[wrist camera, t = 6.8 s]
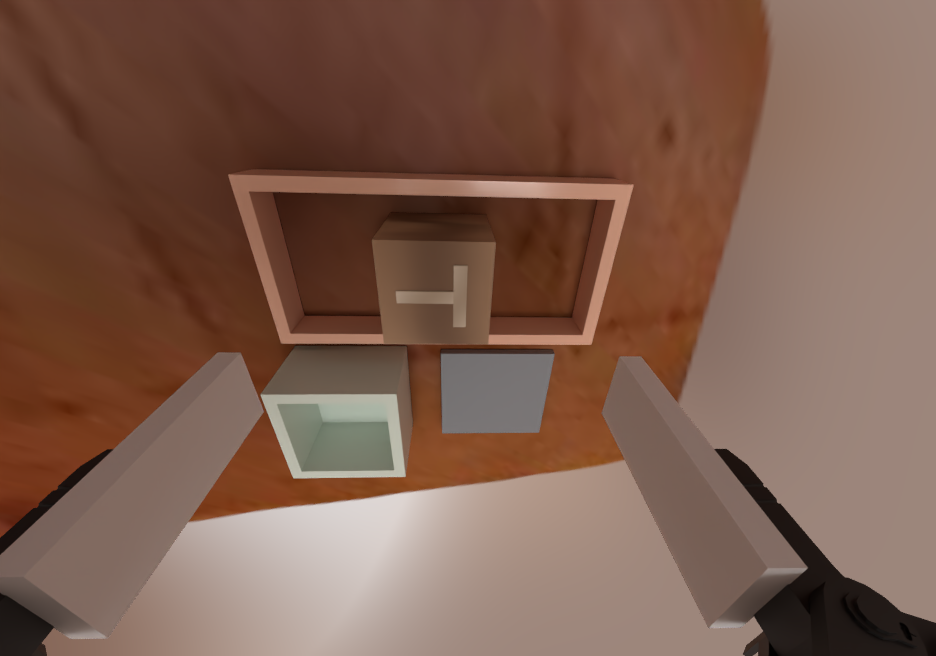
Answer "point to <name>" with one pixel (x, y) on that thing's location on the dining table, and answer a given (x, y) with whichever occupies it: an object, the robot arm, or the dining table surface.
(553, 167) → the dining table surface
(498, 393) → the slate coaster
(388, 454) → the mint green open box
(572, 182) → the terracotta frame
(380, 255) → the letter cube
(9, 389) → the dining table surface
